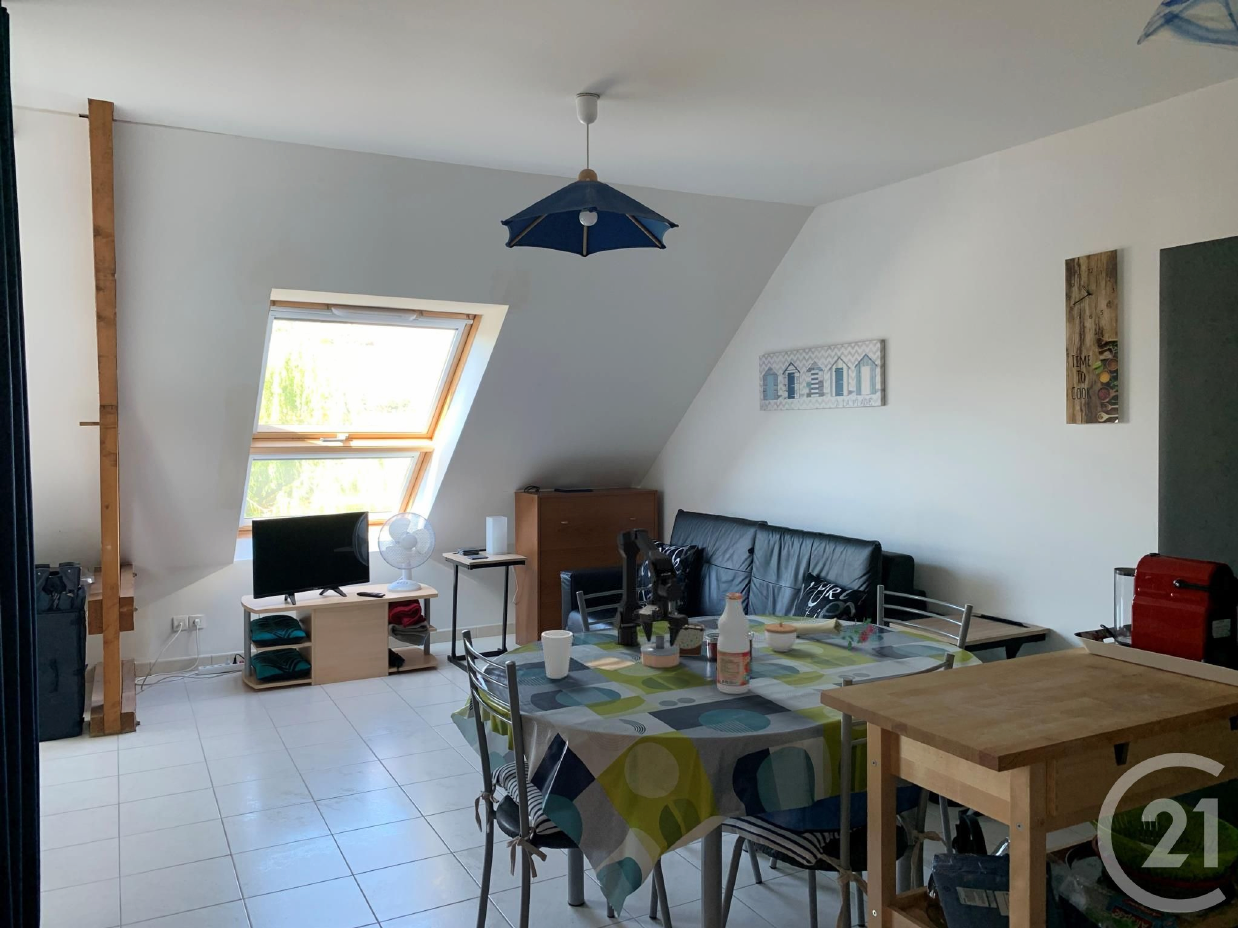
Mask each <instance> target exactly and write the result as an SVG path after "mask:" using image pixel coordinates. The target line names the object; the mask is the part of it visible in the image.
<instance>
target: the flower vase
mask: <svg viewBox="0 0 1238 928" xmlns="http://www.w3.org/2000/svg"><path fill="white" fill-rule="evenodd" d="M866 619H867V620H865V617H863V622H862V624H861V627H860V625H859V626H857V627H855V626H856V625H857V618H855V620H854V623H853V624H852V625H850V626H849V627H847V628H846V629H845V630H843V628H844V625H843V624H842V623H841V621H840V620H839V619H838V618H837V617H835V618H832V619H830V620H827V621H824V622H820V623H805V622H804V623H800V622H797V623H795V622H794V623H791V625H793V626H795V627H796V628H797V631H796V637H800V636H801V637H802V636H809V635H815V634H827V635H828V634H829V635H833V636H837V637H840V635H841V634H842V632H843V633H844V634H846V633H849V634H855V635H858V637H857V642H856V644H861V645H862V644H865V643H866V642H868V641H869V639H870V635H872V634H873V633H874V631H875V627H874V625H873V624H870V623H871V621H872V618H869V617H867V618H866ZM864 625H869V626H866V628H864ZM851 627H852V629H848V628H851ZM859 627H860V628H859ZM847 637H848V638H849V639H850V640H848V642H847V651H850V650H851V648H852V644H853V643H852V642H854V643H855V641H854V637H853V636H852V635H847V636H846V635H843V636H841V638H840V639H842V640H843V641H844V640H846V641H847V639H848V638H847Z"/></svg>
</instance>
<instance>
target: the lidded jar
mask: <svg viewBox="0 0 1238 928" xmlns="http://www.w3.org/2000/svg"><path fill="white" fill-rule="evenodd" d="M796 631H797V628H796V627H795V626H793V625H792V624H788V623H783V622H782V621H779V623H769V624H766V625H765V626H764V635H765V640H766V643H767V645H768V646H769V648H771V650H772V651H773V652H780V653H781V652H783V653H784V652H789V651H790V650H791V649H792V648H793V646H794V645H795V643H796V639H797V636H796Z"/></svg>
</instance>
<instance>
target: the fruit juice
mask: <svg viewBox="0 0 1238 928" xmlns="http://www.w3.org/2000/svg"><path fill="white" fill-rule="evenodd" d="M724 597H725V601H726V602H725V603H726V604H725V607H724V611H723V613H722V614H721V616H720V618H719V619H718V621H717V629H718V632H719V633H718V634H719V636H718V638H717V645H716V653H717V654H716V655H717V656H716V659H717V660H716V664H717V665H716V687H717V690H718V691H719V692H721V693H724V694H728V695H740V694H746V693H747V692H749V691H750V687H751V686H750V685H751V684H750V681H751V680H750V677H751V676H750V675H751V673H750V672H751V670H750V668H751V666H750V665H751V662H750V660H751V659H750V656H751V655H750V654H751V651H750V650H751V646H750V645H751V643H750V638H749V631H750V621H749V619H748V617H747V616H746V615H745V613H744V609H743V606H742V601H743V594H742V593H740V592H739V593H738V592H737V593H736V592H728V593H726V594H725V596H724Z"/></svg>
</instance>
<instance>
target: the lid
mask: <svg viewBox="0 0 1238 928" xmlns="http://www.w3.org/2000/svg"><path fill="white" fill-rule="evenodd" d="M640 652H641V654H642V653H644V654H647V655H652V656H669V655H675V654H677V653H679V647H678V646H676V645H673V646H672V647H671V646H670V643H665V635H664V634H656V635H655V642H654V643H648V644H643V645H641V646H640Z"/></svg>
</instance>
